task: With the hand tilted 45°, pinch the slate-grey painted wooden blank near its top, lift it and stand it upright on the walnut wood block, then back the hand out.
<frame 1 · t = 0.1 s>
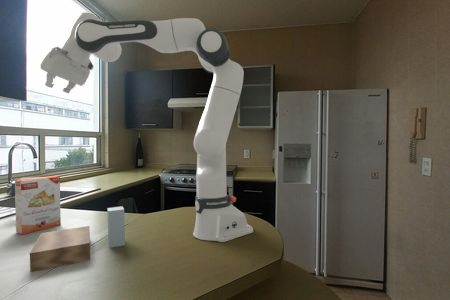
hand: (57, 89, 93), 54 cm above the countertop, tool tilted 30°, fingers open, 8 cm apart
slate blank: (116, 244, 86), on the countertop
cracker box: (39, 229, 104), on the countertop
walnut wood block: (64, 253, 79), on the countertop
milk carton: (30, 217, 122), on the countertop
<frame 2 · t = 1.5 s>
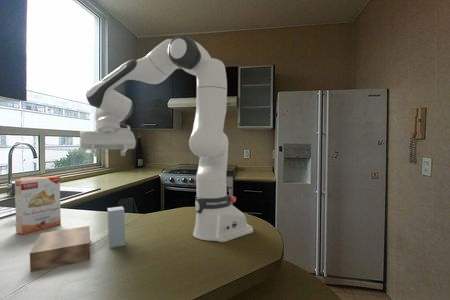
hand: (110, 155, 99), 30 cm above the countertop, tool tilted 45°, fingers open, 8 cm apart
nothing on the countertop moved.
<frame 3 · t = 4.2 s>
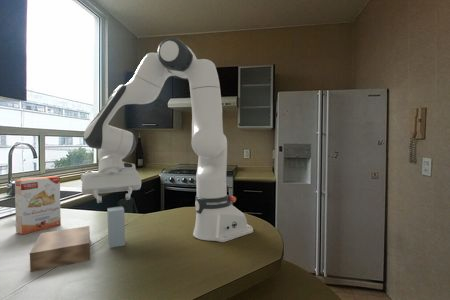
hand: (114, 200, 91), 14 cm above the countertop, tool tilted 45°, fingers open, 8 cm apart
nothing on the countertop moved.
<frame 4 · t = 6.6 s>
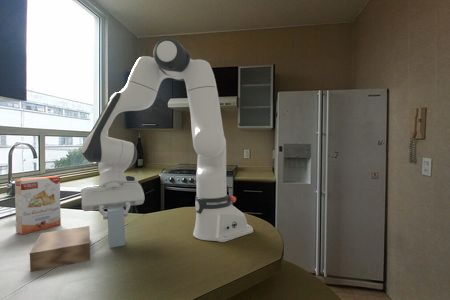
hand: (116, 217, 85), 9 cm above the countertop, tool tilted 45°, fingers closed on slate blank, 5 cm apart
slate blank: (116, 244, 86), on the countertop, touching gripper
everything else where it was.
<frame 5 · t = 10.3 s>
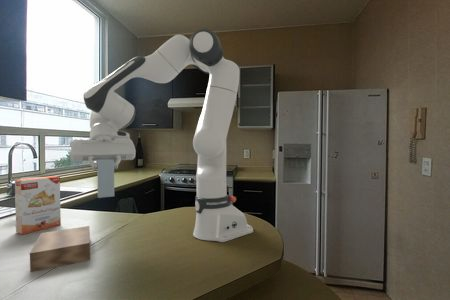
hand: (105, 168, 84), 26 cm above the countertop, tool tilted 45°, fingers closed on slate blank, 5 cm apart
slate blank: (106, 195, 84), point 17 cm above the countertop, touching gripper
everything else where it was.
when the fingers open (16 cm above the countertop, at t = 14.2 s): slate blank drops 1 cm, resting on walnut wood block.
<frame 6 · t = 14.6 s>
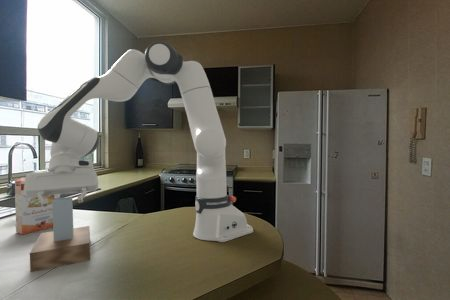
hand: (62, 203, 78), 16 cm above the countertop, tool tilted 45°, fingers open, 8 cm apart
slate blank: (64, 237, 79), point 5 cm above the countertop, touching walnut wood block
everything else where it was.
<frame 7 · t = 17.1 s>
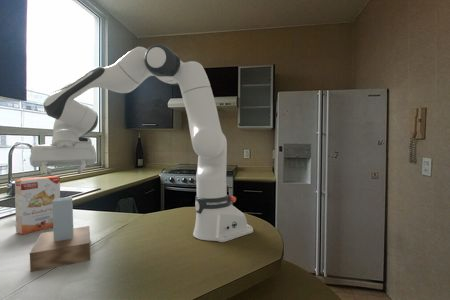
hand: (64, 172, 88), 24 cm above the countertop, tool tilted 45°, fingers open, 8 cm apart
nothing on the countertop moved.
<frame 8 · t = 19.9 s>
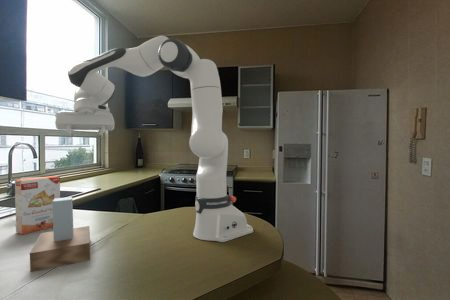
hand: (86, 135, 96), 37 cm above the countertop, tool tilted 45°, fingers open, 8 cm apart
nothing on the countertop moved.
at the end: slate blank inside the target area (0.1 cm from its centre), point 5.0 cm above the countertop; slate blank tilted 0°; the gripper is holding nothing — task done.
